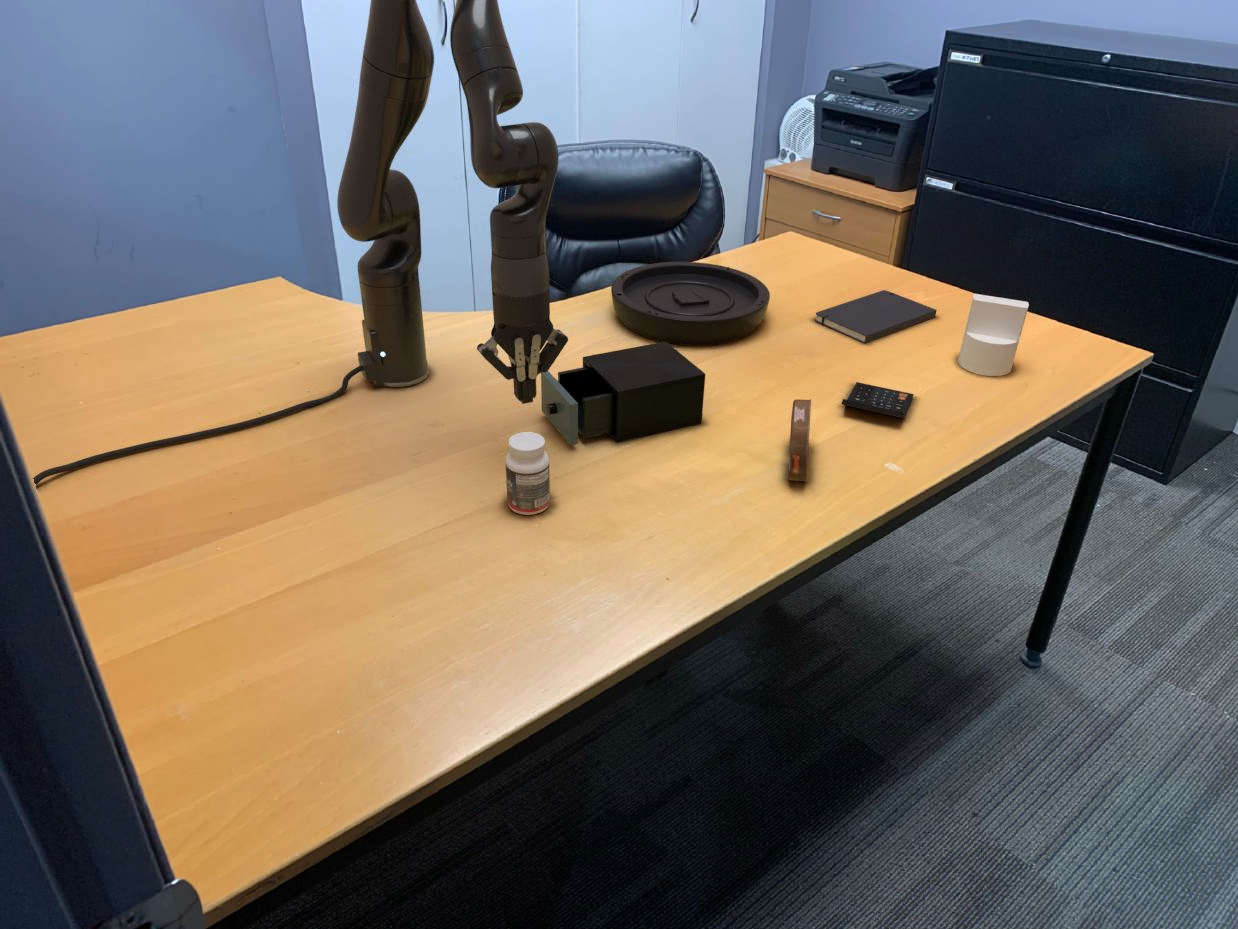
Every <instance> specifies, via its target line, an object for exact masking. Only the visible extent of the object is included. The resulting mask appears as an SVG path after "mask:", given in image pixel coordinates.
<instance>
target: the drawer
mask: <svg viewBox="0 0 1238 929" xmlns="http://www.w3.org/2000/svg"><path fill="white" fill-rule="evenodd" d="M540 392H541V393H540V396H541V412H542V413H543V414H544V416H545V417H546V418H547V419H548V421H549V422H550V423H551V424H552V425H553V427H554V428H555V429H556V430H557V432H559V434H560V435H561V436H562V437H563V438H564V439H565V441H566V442H567V443H568V444H569V445H570V446H575V445H578V444H579V434H580V435H581V436H582V438H583V439H587V438H591V437H592V438H593V437H597V436H600V435H605V434H608V433H610V432H615V401H616V394H615V393H614V392H613V391H612V390H611V389H610V388H609V387H608V386H607V385H606V384H605V383H604V382H603V381H602V380H601V379H600V378H599V377H598V376H597V375H596V374H595V373H594V372H593V371H592V370H591V369H590V368H589V367H583V366H582V367H577V368H573V369H567V370H561V371H557V378H555V377H554V375H553V374H552V373H551V372H550V371H549V370H548V371H547V372H545V373H544V372H542V373H540Z"/></svg>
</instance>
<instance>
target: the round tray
mask: <svg viewBox="0 0 1238 929" xmlns="http://www.w3.org/2000/svg"><path fill="white" fill-rule="evenodd" d="M610 288H611V289H610V292H611V299H612V305H613V309H614V310H615V313H616V316H617V317H618V318H619V320H620V321H621V322H622V324H624V326H625V327H626V328H627V329H629V330H631V331H632V332H633V333H636V334H638V335H640V336H642V337H644V338H648V339H651V340H653V341H657V342H665V341H666V342H667V343H668V344H673V345H681V346H711V345H718V344H719V345H720V344H724V343H730V342H734V341H736V340H739V339H742V338H743V337H746V336H748V335H749V334H751V333H752V332H753V331H754V330H756V329H757V328H758V327H759V325H760V324H761V323H762V321H763V319H764V317H765V315H766V312H767V309H768V306H769V303H770V298H771V294H770V291H769V289H768V287H767V285H765V283H764V282H762V281H761V280H760V279H759V278H757V277H756V276H753V275H751V274H749V273H747V272H744V271H741V270H739V269H735V268H733V267H730V266H724V265H719V264H713V263H708V262H707V263H706V262H697V261H667V262H666V261H664V262H656V263H649V264H645V265H640V266H636V267H633V268H631V269H629V270H626V271H624V272H622V273H621V274H619V275H618V276H617V277H615V279H614V280H613V282H612V283H611V287H610Z"/></svg>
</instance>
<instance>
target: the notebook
mask: <svg viewBox="0 0 1238 929" xmlns="http://www.w3.org/2000/svg"><path fill="white" fill-rule="evenodd" d="M937 311H938V310H937V309H935V308H934V307H931V306H928V305H926V304H923V303H920V302H917V301H915V300H914V299H913V300H912V299H910V298H907V297H904V296H902V295H899V294H897V293H895V292H891V291H889V290H886V289H884V290H879V291H877V292H873V293H870V294H867V295H864V296H862V297H858V298H855V299H852V300H849V301H846V302H842V303H840V304H838V305H835V306H831V307H829V308H825V309H823V310H820V311H817V312H815V315H816V318H815V319H814V321H815V323H818V324H820V325H822V326H825V327H827V328H830V329H831V330H834V331H836V332H837V333H838V332H839V333H841V334H843V335H845V336H847V337H850V338H851V339H855V340H856V341H859V342H861V343H864V344H866V343H870V342H872V341H875V340H878V339H880V338H883V337H885V336H888V335H890V334H893V333H896V332H899V331H901V330H904V329H907V328H910V327H912V326H915V325H917V324H920V323H923V322H925V321H928V320H931V319H933V318H936V315H937Z"/></svg>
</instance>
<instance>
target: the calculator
mask: <svg viewBox="0 0 1238 929" xmlns="http://www.w3.org/2000/svg"><path fill="white" fill-rule="evenodd" d="M913 399H914V393H910V392H905V391H900V390H897V389H891V388H887V387H882V386H877V385H872V384H869V383H863V382H860V381H859V382H858V381H856V382H855V384H854V386H853V387H852V389H851V391H850V393H849V395H848V397H847V399H846V398H842V401H841V405H843V406H847V407H852V408H855V409H859V410H860V409H861V410H865V411H869V412H873V413H879V414H882V415H887V416H892V417H896V418H900V419H905V418H906V416H907V414H908V411H909V408H910V406H911V404H912V401H913Z"/></svg>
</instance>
